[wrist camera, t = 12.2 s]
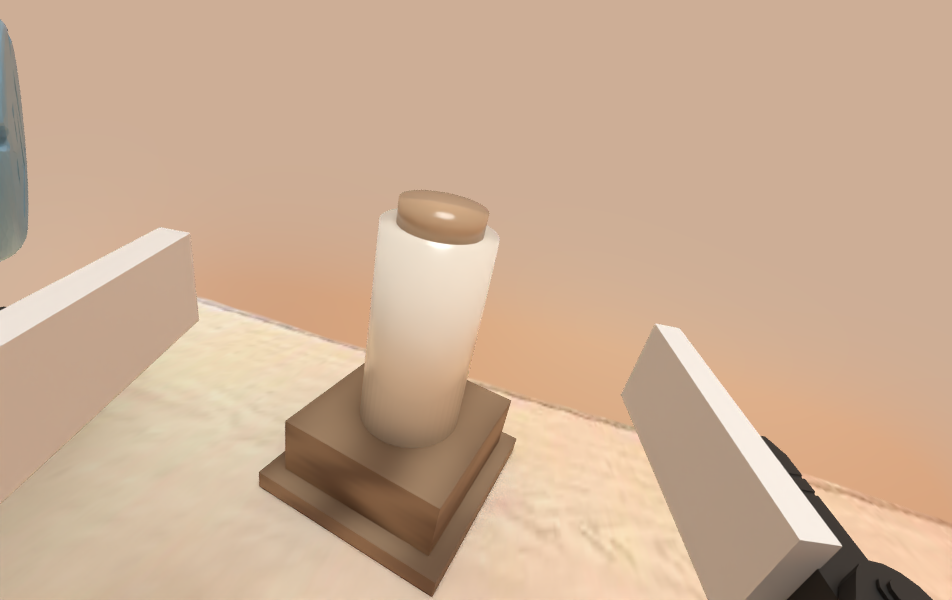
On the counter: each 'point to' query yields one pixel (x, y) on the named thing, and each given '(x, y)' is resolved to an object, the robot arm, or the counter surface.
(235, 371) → the counter surface
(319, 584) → the counter surface
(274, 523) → the counter surface
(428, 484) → the pedestal
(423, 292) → the canister
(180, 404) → the counter surface
